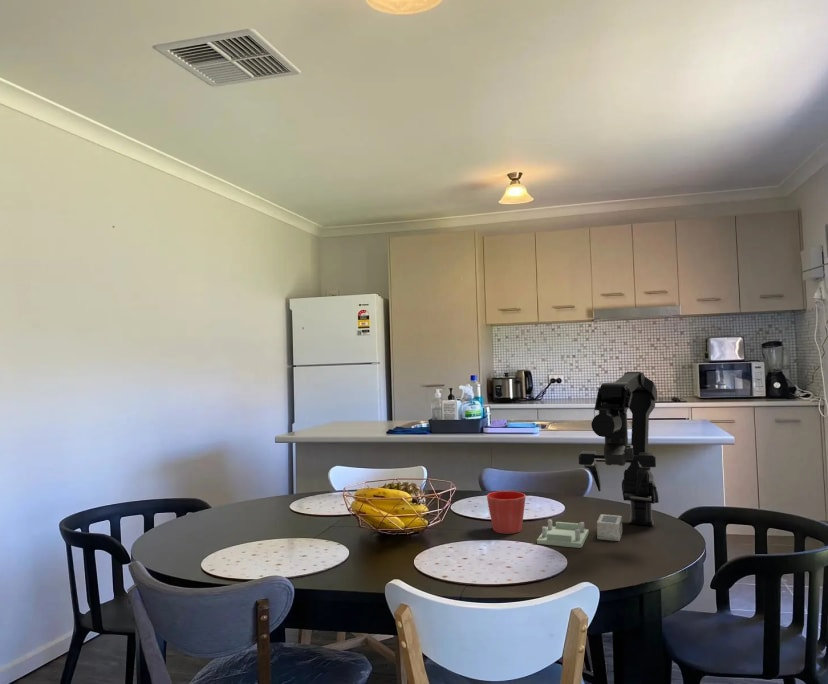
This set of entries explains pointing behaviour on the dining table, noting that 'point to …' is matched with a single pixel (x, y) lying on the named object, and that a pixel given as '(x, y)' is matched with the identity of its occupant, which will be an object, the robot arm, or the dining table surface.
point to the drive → (609, 527)
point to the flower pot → (506, 511)
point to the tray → (563, 534)
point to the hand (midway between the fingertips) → (618, 492)
